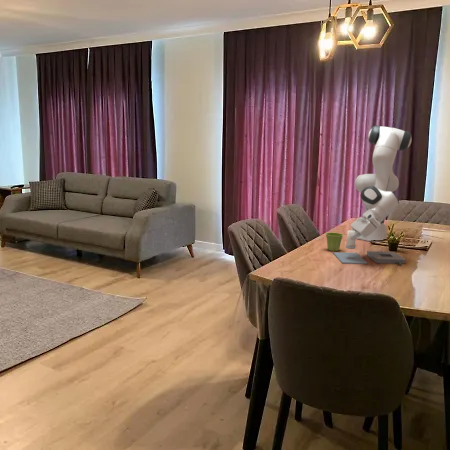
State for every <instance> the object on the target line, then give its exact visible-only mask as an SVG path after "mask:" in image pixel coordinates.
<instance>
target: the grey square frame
mask: <svg viewBox="0 0 450 450" xmlns="http://www.w3.org/2000/svg"><path fill="white" fill-rule="evenodd" d="M367 255H368V257H369V258H370V259H371V260H372V259H373V260H374V261H373V260H372V261H373V262H375V263H376V264H396V263H397V264H396V265H398V264H399V265H398V266H399V267H403V264H401V263H407V259H406V258H404V257H403V256H401V254H398V253H397V252H395V251H380V250H379V251H372V250H369V251H366V256H367Z"/></svg>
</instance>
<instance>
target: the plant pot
mask: <svg viewBox="0 0 450 450" xmlns="http://www.w3.org/2000/svg"><path fill="white" fill-rule="evenodd" d="M325 236H326V244H327V245H326V246H327V251H329V252H337V251H340V249H341V248H340V247H341V243H342V239H343V237H344V234H343V233H339V232H334V231H333V232H332V231H331V232H326V233H325Z"/></svg>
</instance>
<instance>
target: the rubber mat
mask: <svg viewBox="0 0 450 450" xmlns="http://www.w3.org/2000/svg"><path fill="white" fill-rule="evenodd" d="M332 254H333V255H334V256H335V257H336V258H337V259H338V261H339V262H340V263H341V264H343V265H344V264H345V265H346V264H348V265H349V264H352V265H353V264H354V265H356V264H357V265H367V264H368V261H366V259H364V258H363V257H361V255H359V254H358V253H357V252H337V251H332Z"/></svg>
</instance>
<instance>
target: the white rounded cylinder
mask: <svg viewBox="0 0 450 450" xmlns="http://www.w3.org/2000/svg"><path fill="white" fill-rule="evenodd" d="M354 234H356V231H354V230H352V229H351V230H347V235H346V244H345V248H346V249H349V250H355V249H356V239H354V240H352V239H351V238H350V237H351V236H352V235H354Z"/></svg>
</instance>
